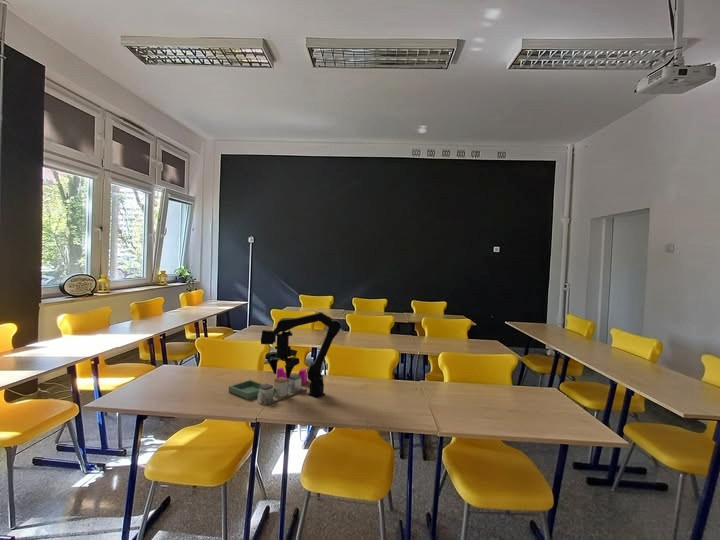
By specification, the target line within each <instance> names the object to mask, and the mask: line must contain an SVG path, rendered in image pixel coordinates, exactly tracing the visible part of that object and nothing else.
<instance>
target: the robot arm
mask: <svg viewBox="0 0 720 540" xmlns="http://www.w3.org/2000/svg"><path fill="white" fill-rule="evenodd" d="M316 322H321V323H322V324H323V325H325V326H326V327H327V329H326V334H325V337H324V339H323V341H322V343H321V345H320V349H319V351H318V353H317V356H316V358H315V360H314V361H313V362H311V361H310V362H309V366H308V367H307V368H306V373H307V380H309V381H310V384H309V393H307V395H308V396H309V397H312V398H316V399H319V398H321V397H324V396H325V395H326V393H324V387H325V385H324V376H323V375H322V374H321V371H322V366H323V363H324V362H325V358H326V357H327V354H328V351H329V349H330V348H331V344H332V342H333V340H334V339H335V337H336V336H337V335H338V333H340V330H341V327H342V326H341V322H340V321H339V320H338V319H336V318H332V317H330V316H328V315H327V314H325V313H324V312H321V311H320V312H316V313H312V314H307V315H303V316H299V317H284V318H280V319H279V320H278V322H277V323H276V327H275V328H274V329H273V330H266V329H262V332H261V337H260V344H261V345H274V344H275V343H276V346H274V349H275V350H276V351H270V352H267V353H265V357H264V358H265V360H266V361H267V363H268V364H269V366H270V368H271V371H272V372H273V374H274V375H277V369H278V362H279V361H282V362H284V368H285V369H284V371H285V373H286V376H287V378H289V377H290V374H291V375H292V372H293V369H294V367H296V366H298V365H300V358H299V357H297V353H298V350H295V349H292V348H291V346H290V345H289V343H290V342H289V340H290V339H289V338H290V337H292V336H293V332H292V331H291V330H292V329H294V328H295V327H298V326H302V325H303V326H305V325H308V324H311V323H313V324H314V323H316Z"/></svg>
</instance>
